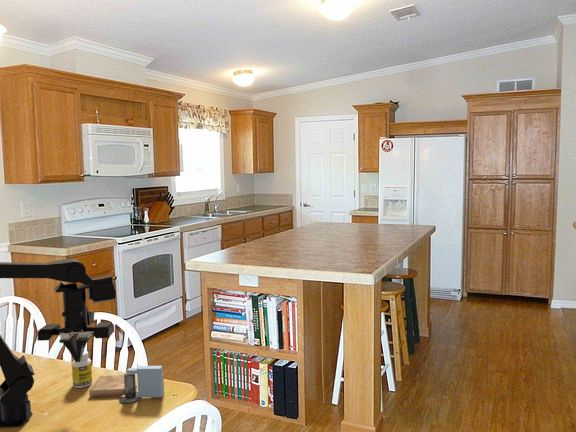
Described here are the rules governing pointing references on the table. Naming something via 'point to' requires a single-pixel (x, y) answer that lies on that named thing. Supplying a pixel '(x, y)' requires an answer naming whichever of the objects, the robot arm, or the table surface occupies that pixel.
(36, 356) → the table surface
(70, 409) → the table surface
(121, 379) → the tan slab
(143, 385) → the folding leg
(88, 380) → the supplement bottle
